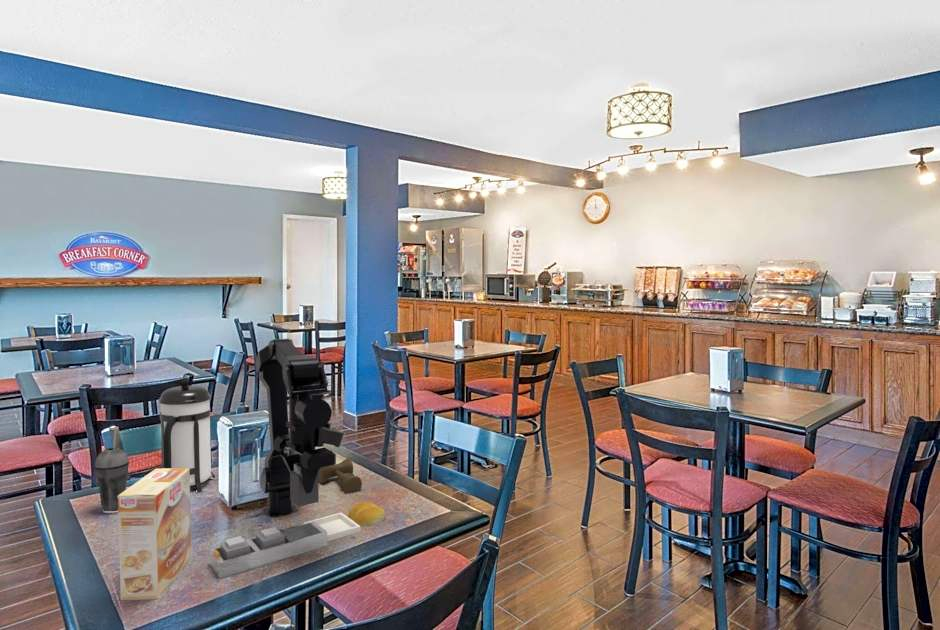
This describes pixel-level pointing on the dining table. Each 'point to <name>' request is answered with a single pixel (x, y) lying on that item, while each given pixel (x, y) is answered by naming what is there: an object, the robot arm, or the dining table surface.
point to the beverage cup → (111, 475)
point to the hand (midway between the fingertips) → (304, 489)
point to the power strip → (271, 550)
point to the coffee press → (186, 431)
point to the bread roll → (366, 514)
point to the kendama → (341, 476)
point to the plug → (302, 490)
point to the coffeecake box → (154, 533)
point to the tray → (337, 526)
